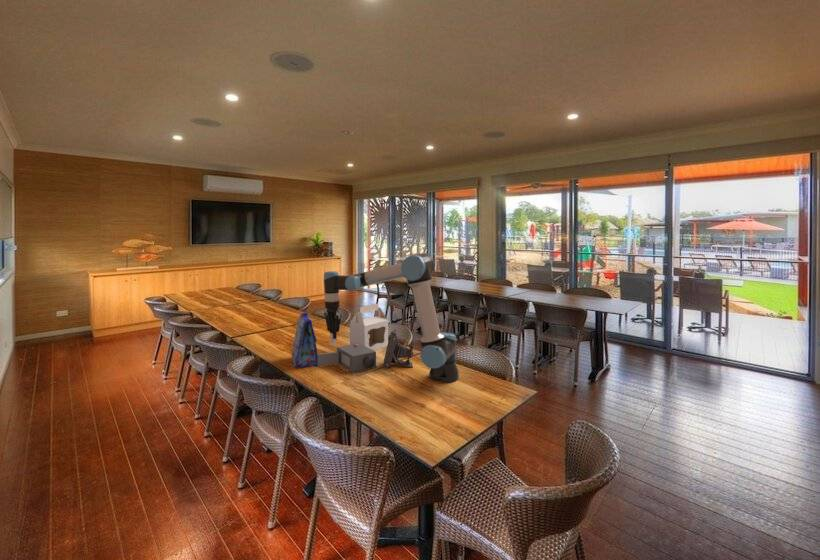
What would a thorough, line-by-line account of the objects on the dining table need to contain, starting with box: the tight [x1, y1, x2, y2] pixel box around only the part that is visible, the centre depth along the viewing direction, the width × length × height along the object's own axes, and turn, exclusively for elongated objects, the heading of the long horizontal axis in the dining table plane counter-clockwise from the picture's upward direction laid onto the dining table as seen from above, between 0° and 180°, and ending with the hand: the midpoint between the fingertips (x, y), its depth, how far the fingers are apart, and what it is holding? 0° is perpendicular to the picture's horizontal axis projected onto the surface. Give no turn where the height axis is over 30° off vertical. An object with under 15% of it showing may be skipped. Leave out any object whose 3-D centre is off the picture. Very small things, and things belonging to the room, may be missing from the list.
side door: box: [317, 351, 341, 367], centre depth 213 cm, size 13×2×7 cm, turn 116°
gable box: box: [349, 303, 389, 351], centre depth 248 cm, size 22×13×28 cm, turn 141°
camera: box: [383, 329, 415, 369], centre depth 216 cm, size 11×17×20 cm, turn 90°
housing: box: [336, 343, 377, 373], centre depth 215 cm, size 22×14×10 cm, turn 35°
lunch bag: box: [291, 311, 319, 369], centre depth 220 cm, size 22×14×29 cm, turn 22°
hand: (333, 344), depth 206 cm, fingers closed
